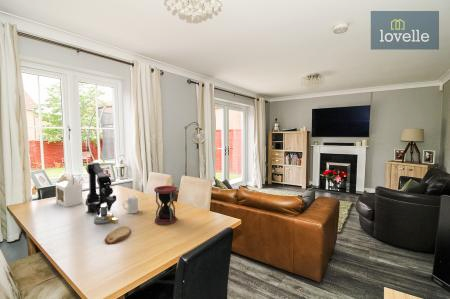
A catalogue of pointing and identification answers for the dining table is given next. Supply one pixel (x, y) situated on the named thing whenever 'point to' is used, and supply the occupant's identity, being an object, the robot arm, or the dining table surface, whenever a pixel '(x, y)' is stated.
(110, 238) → the slice of bread
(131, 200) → the mug
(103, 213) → the wedge pin
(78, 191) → the gable box
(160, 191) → the hourglass
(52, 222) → the dining table surface
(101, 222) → the rosette
